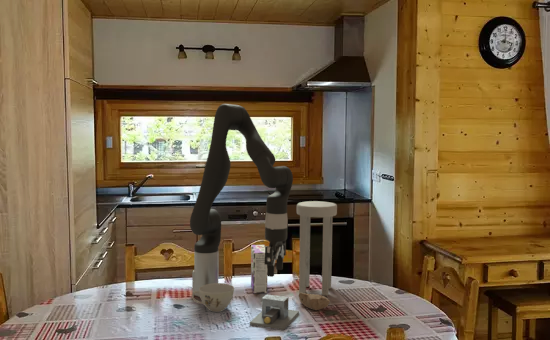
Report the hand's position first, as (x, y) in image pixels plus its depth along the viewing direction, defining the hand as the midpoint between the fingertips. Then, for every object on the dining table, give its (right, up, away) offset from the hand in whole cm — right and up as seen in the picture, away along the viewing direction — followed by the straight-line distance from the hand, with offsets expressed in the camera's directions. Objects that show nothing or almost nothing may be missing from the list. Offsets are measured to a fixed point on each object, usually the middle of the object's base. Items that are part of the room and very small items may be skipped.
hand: (275, 272), depth 182 cm
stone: (+14, -16, +15) cm, 25 cm away
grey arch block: (0, -15, +1) cm, 15 cm away
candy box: (-7, -13, +36) cm, 39 cm away
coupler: (0, -16, +2) cm, 16 cm away
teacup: (-22, -15, +11) cm, 29 cm away
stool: (+16, -14, +34) cm, 40 cm away
